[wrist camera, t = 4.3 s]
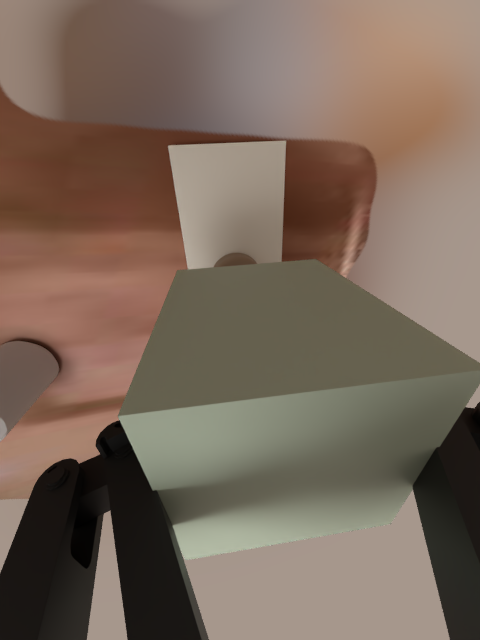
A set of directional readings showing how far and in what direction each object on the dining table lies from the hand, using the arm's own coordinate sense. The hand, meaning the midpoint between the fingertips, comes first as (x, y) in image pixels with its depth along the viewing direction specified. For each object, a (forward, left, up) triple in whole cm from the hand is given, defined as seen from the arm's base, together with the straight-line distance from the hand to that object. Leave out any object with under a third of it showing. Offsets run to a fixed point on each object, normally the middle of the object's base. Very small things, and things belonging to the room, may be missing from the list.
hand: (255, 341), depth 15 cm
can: (+10, -29, -16) cm, 35 cm away
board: (+2, 0, -16) cm, 16 cm away
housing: (0, 0, -2) cm, 2 cm away
